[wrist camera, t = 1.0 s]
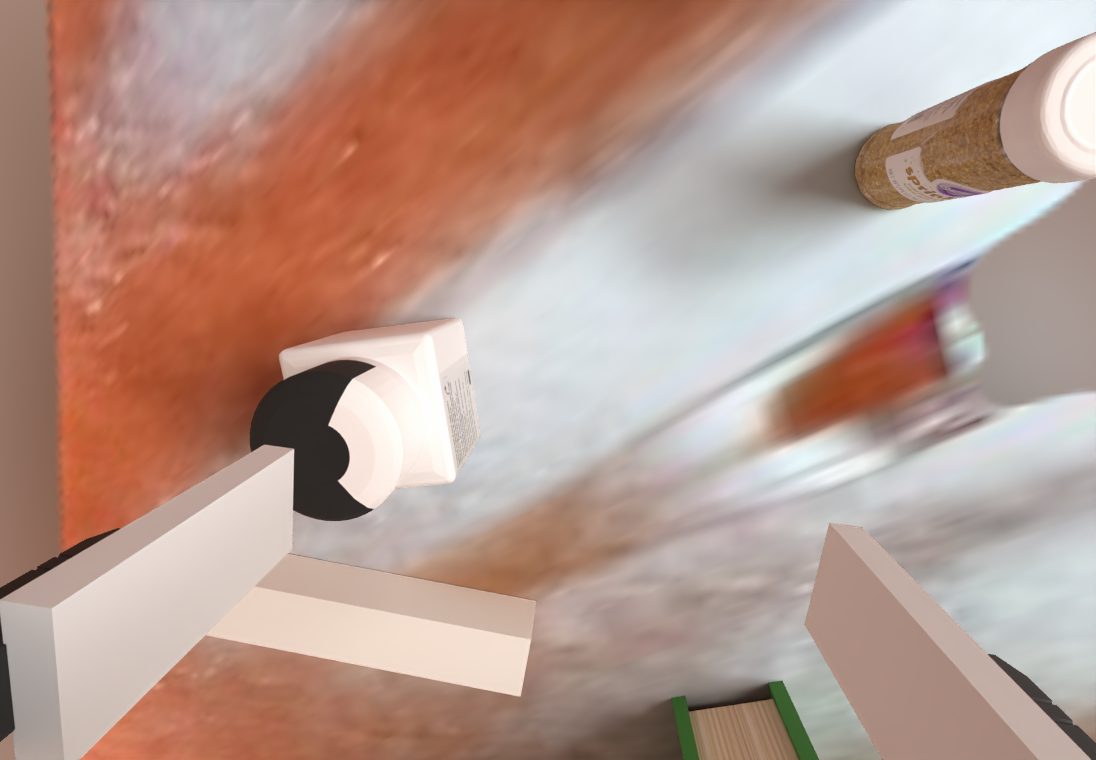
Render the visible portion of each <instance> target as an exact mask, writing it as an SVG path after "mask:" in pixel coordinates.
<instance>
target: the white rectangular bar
mask: <svg viewBox="0 0 1096 760" xmlns="http://www.w3.org/2000/svg"><path fill="white" fill-rule="evenodd" d="M536 602H537V601H534V600H529V599H523V598H518V597H513V596H508V595H502V594H497V593H492V592H487V591H481V590H476V589H471V588H466V587H460V586H455V585H450V584H445V583H439V582H434V581H429V580H424V579H418V578H413V577H408V576H402V575H397V574H392V573H387V572H381V571H376V570H371V569H366V568H360V567H355V566H350V565H345V564H339V563H334V562H329V561H324V560H318V559H313V558H308V557H303V556H297V555H292V554H287V555H286V556H285V557H284V558H283V559H282V560H281V561H280V562H279V563H278V564H277V565H276V566H275V567H274V568H273V569H272V570H271V571H270V572H269V573H268V574H267V575H266V576H264V577H263V578H262V579H261V580H260V581H259V582H258V583H257V584H256V585H255V586H254V587H253V588H252V589H251V590H250V591H249V592H248V593H247V594H246V595H245V596H244V597H243V598H242V599H241V600H240V601H239V602H238V603H237V604H236V605H235V606H234V607H233V608H232V609H231V610H230V611H229V612H228V613H227V614H226V615H225V616H224V617H223V618H222V619H221V620H220V621H219V622H218V623H217V624H216V625H215V626H214V627H213V628H212V629H211V630H210V631H209V632H208V633H207V634H206V635H208V636H213V637H218V638H223V639H228V640H233V641H238V642H243V643H249V644H254V645H259V646H264V647H269V648H274V649H279V650H284V651H289V652H295V653H300V654H305V655H310V656H315V657H320V658H325V659H330V660H335V661H341V662H346V663H351V664H356V665H361V666H366V667H371V668H376V669H382V670H387V671H392V672H397V673H402V674H407V675H412V676H417V677H422V678H428V679H433V680H438V681H443V682H448V683H453V684H458V685H463V686H468V687H474V688H479V689H484V690H489V691H494V692H499V693H504V694H509V695H515V696H520V697H521V691H522V686H523V681H524V675H525V670H526V664H527V659H528V653H529V648H530V642H531V636H532V630H533V623H534V616H535V609H536Z"/></svg>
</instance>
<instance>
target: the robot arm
mask: <svg viewBox="0 0 1096 760" xmlns="http://www.w3.org/2000/svg"><path fill="white" fill-rule="evenodd" d="M293 480H294V449H292V448H285V447H278V446H270V445H263V446H261V447H259V448H258V449H256V450H254V451H253V452H251V453H249V454H247V455H246V456H244V457H242V458H241V459H239V460H237V461H236V462H234V463H232V464H230V465H229V466H227V467H225V468H224V469H222V470H220V471H218V472H217V473H215V474H213V475H212V476H210V477H208V478H207V479H205V480H203V481H201V482H200V483H198V484H196V485H195V486H193V487H191V488H190V489H188V490H186V491H184V492H183V493H181V494H179V495H178V496H176V497H174V498H172V499H171V500H169V501H167V502H166V503H164V504H162V505H161V506H159V507H157V508H155V509H154V510H152V511H150V512H149V513H147V514H145V515H143V516H142V517H140V518H138V519H137V520H135V521H133V522H132V523H130V524H128V525H126V526H125V527H123V528H121V529H120V528H117V529H114V530H111V531H109V532H106V533H103V534H100V535H97V536H94V537H91V538H88V539H85V540H84V541H82V542H80V543H78V544H77V545H75V546H73V547H71V548H70V549H68V550H66V551H64V552H63V553H61V554H59V557H58V558H56V557H54V558H52V559H50V560H48V561H47V562H45V563H43V564H41V565H40V566H38V567H37V570H31V571H29V572H28V573H25V574H24V575H22V576H20V577H18V578H17V579H15V580H13V581H11V582H10V583H8V584H6V585H4V586H3V587H1V588H0V742H1V741H2V740H3V739H4V738H5V737H7V736H8V735H9V734H10V733H11V732H13V740H14V748H15V759H16V760H80V759H81V758H82V757H83V756H84V755H85V754H86V753H87V752H88V751H89V750H90V749H91V748H92V747H93V746H94V745H95V744H96V743H97V742H98V741H99V740H100V739H101V738H102V737H103V736H104V735H105V734H106V733H107V732H108V731H109V730H110V729H111V728H112V727H113V726H114V725H115V724H116V723H117V722H118V721H119V720H120V719H121V718H122V717H123V716H124V715H125V714H126V713H127V712H128V711H129V710H130V709H131V708H132V707H133V706H134V705H135V704H136V703H137V702H138V701H139V700H140V699H141V698H142V697H143V696H144V695H145V694H146V693H147V692H148V691H149V690H150V689H151V688H152V687H153V686H154V685H155V684H156V683H157V682H158V681H159V680H160V679H161V678H162V677H163V676H165V675H166V674H167V673H168V672H169V671H170V670H171V669H172V668H173V667H174V666H175V665H176V664H177V663H178V662H179V661H180V660H181V659H182V658H183V657H184V656H185V655H186V654H187V653H188V652H189V651H190V650H191V649H192V648H193V647H194V646H195V645H196V644H197V643H198V642H199V641H200V640H201V639H202V638H203V637H204V636H205V635H206V634H207V633H208V632H209V631H210V630H211V629H212V628H213V627H214V626H215V625H216V624H217V623H218V622H219V621H220V620H221V619H222V618H223V617H224V616H225V615H226V614H227V613H228V612H229V611H230V610H231V609H232V608H233V607H234V606H235V605H236V604H237V603H238V602H239V601H240V600H241V599H242V598H243V597H244V596H245V595H246V594H247V593H248V592H249V591H250V590H251V589H252V588H253V587H254V586H255V585H256V584H257V583H258V582H259V581H260V580H261V579H262V578H263V577H264V576H266V575H267V574H268V573H269V572H270V571H271V570H272V569H273V568H274V567H275V566H276V565H277V564H278V563H279V562H280V561H281V560H282V559H283V558H284V557H285V556H286V555H287V554H288V553H289V552H290V551H291V550H292V530H293ZM805 626H806V627H807V629H808V631H809V633H810V634H811V636H812V638H813V640H814V641H815V643H816V645H817V646H818V648H819V650H820V652H821V653H822V655H823V657H824V659H825V660H826V662H827V664H828V666H829V667H830V669H831V671H832V673H833V674H834V676H835V678H836V680H837V681H838V683H839V685H840V686H841V688H842V690H843V692H844V693H845V695H846V697H847V699H848V700H849V702H850V704H851V706H852V707H853V709H854V711H855V713H856V714H857V716H858V718H859V720H860V721H861V723H862V725H863V727H864V728H865V730H866V732H867V733H868V735H869V737H870V739H871V740H872V742H873V744H874V746H875V747H876V749H877V751H878V753H879V754H880V756H881V758H882V760H1096V743H1095V742H1094V741H1093V740H1092V739H1091V738H1090V737H1089V736H1088V735H1087V734H1086V733H1085V732H1084V731H1083V730H1082V729H1081V728H1079V727H1078V726H1076V725H1073V723H1072V720H1071V719H1070V718H1069V717H1068V716H1067V715H1066V714H1065V713H1064V712H1063V711H1062V710H1061V709H1060V708H1059V707H1058V706H1057V705H1052V700H1051V699H1050V698H1049V697H1048V696H1047V695H1046V694H1045V693H1043V692H1042V691H1041V690H1040V689H1039V688H1038V687H1037V686H1036V685H1035V684H1034V683H1033V682H1032V681H1031V680H1030V679H1029V678H1028V677H1027V676H1025V675H1024V674H1022V673H1021V672H1019V671H1018V670H1017V669H1015V668H1014V667H1012V666H1011V665H1009V664H1008V663H1006V662H1005V661H1003V660H1002V659H1000V658H999V657H997V656H996V655H991V654H987V653H986V652H985V651H984V650H983V649H982V648H981V647H980V646H979V645H978V644H977V643H976V642H975V641H974V640H973V639H972V638H971V637H970V636H969V635H968V634H967V633H966V632H965V631H964V630H963V629H962V628H961V627H960V626H959V625H958V624H957V623H956V622H955V621H954V620H953V619H952V618H951V617H950V616H949V615H948V614H947V613H946V612H945V611H944V610H943V609H942V608H941V607H940V606H939V605H938V604H937V603H936V602H935V601H934V600H933V599H932V598H931V597H930V596H929V595H928V594H927V593H926V592H925V591H924V590H923V589H922V587H921V586H920V585H919V584H918V583H917V582H916V581H915V580H914V579H913V578H912V577H911V576H910V575H909V574H908V573H907V572H906V571H905V570H904V569H903V568H902V567H901V566H900V565H899V564H898V563H897V562H896V561H895V560H894V559H893V558H892V557H891V556H890V555H889V554H888V553H887V552H886V551H885V550H884V549H883V548H882V547H881V546H880V545H879V544H878V543H877V542H876V541H875V540H874V539H873V538H872V537H871V536H870V535H869V534H868V533H867V532H866V531H865V530H864V529H863V528H862V527H856V526H849V525H842V524H834V523H829V527H828V531H827V535H826V539H825V543H824V547H823V551H822V555H821V560H820V564H819V568H818V572H817V576H816V580H815V584H814V588H813V592H812V596H811V601H810V605H809V609H808V613H807V617H806V621H805Z"/></svg>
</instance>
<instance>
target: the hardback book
mask: <svg viewBox="0 0 1096 760" xmlns="http://www.w3.org/2000/svg"><path fill="white" fill-rule="evenodd" d="M768 684H769V690H770V695H771V699H770V700H764V701H757V702H750V703H744V704H737V705H730V706H724V707H717V708H710V709H704V710H697V711H691V712H689V711H688V707H687V702H686V698H685V696H681V697H675V698H672V704H673V709H674V714H675V719H676V724H677V729H678V735H679V740H680V745H681V750H682V755H683V760H819V759H818V757H817V754H816V752H815V750H814V748H813V746H812V744H811V742H810V739H809V737H808V735H807V733H806V731H805V729H804V726H803V724H802V722H801V720H800V718H799V716H798V713H797V711H796V709H795V707H794V705H793V703H792V701H791V698H790V696H789V694H788V692H787V690H786V688H785V685H784V683H783V681H778V682H772V683H768Z"/></svg>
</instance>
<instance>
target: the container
mask: <svg viewBox="0 0 1096 760" xmlns="http://www.w3.org/2000/svg"><path fill="white" fill-rule="evenodd" d="M279 361H280V365H281V370H282V374H283V379H284V380H283V381H281V382H279V383H278V384H277V385H275V386H274V387H273V388H271V389H270V391H269V392H268V393H267V394H266V395H265V396H264V397H263V399H262V400H261V402H260V403H259V405H258V407H257V409H256V411H255V413H254V416H253V419H252V423H251V429H250V448H251V452H253V451H254V450H256V449H258V448H259V447H261V446H263V445H270V446H278V447H285V448H292V449H294V480H293V510H294V511H296V512H298V513H300V514H303V515H305V516H308V517H311V518H314V519H319V520H325V521H342V520H349V519H353V518H357V517H359V516H362V515H365V514H367V513H368V512H370V511H372V510H374V509H375V508H376V507H378V506H379V505H380V504H381V503H382V502H383V501H384V500H385V499H386V498H387V497H388V496H389V495H390V494H391V492H392V491H393V490H394V489H400V488H410V487H420V486H430V485H440V484H449V483H451V482H453V481H454V480H455V478H456V477H457V475H458V473H459V472H460V470H461V468H462V467H463V465H464V463H465V462H466V460H467V458H468V457H469V455H470V454H471V452H472V450H473V449H474V447H475V445H476V444H477V442H478V440H479V439H480V428H479V422H478V416H477V409H476V403H475V397H474V390H473V384H472V378H471V372H470V365H469V359H468V353H467V346H466V340H465V334H464V327H463V323H462V320H460V319H459V318H449V319H441V320H433V321H426V322H418V323H410V324H402V325H394V326H386V327H378V328H370V329H362V330H354V331H346V332H342V333H338V334H335V335H331V336H328V337H325V338H321V339H318V340H314V341H311V342H308V343H304V344H301V345H298V346H294V347H291V348H287V349H285V350H282V351H281V353H280V354H279Z"/></svg>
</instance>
